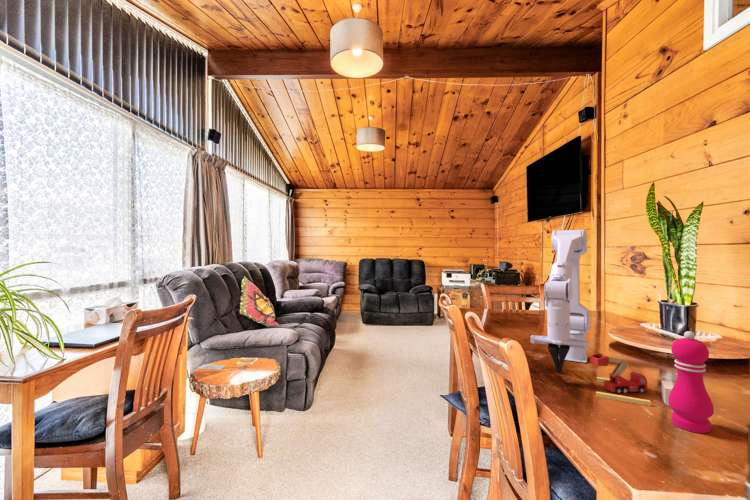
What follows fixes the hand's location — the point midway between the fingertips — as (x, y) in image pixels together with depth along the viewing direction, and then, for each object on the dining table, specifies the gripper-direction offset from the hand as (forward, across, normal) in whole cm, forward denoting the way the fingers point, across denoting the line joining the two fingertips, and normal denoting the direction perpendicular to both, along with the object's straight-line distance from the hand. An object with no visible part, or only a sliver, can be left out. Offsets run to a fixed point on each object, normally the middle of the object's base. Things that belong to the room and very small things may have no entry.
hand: (559, 371), depth 102 cm
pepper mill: (+3, +26, -14) cm, 30 cm away
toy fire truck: (+3, +14, +1) cm, 14 cm away
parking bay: (+3, +17, 0) cm, 17 cm away
